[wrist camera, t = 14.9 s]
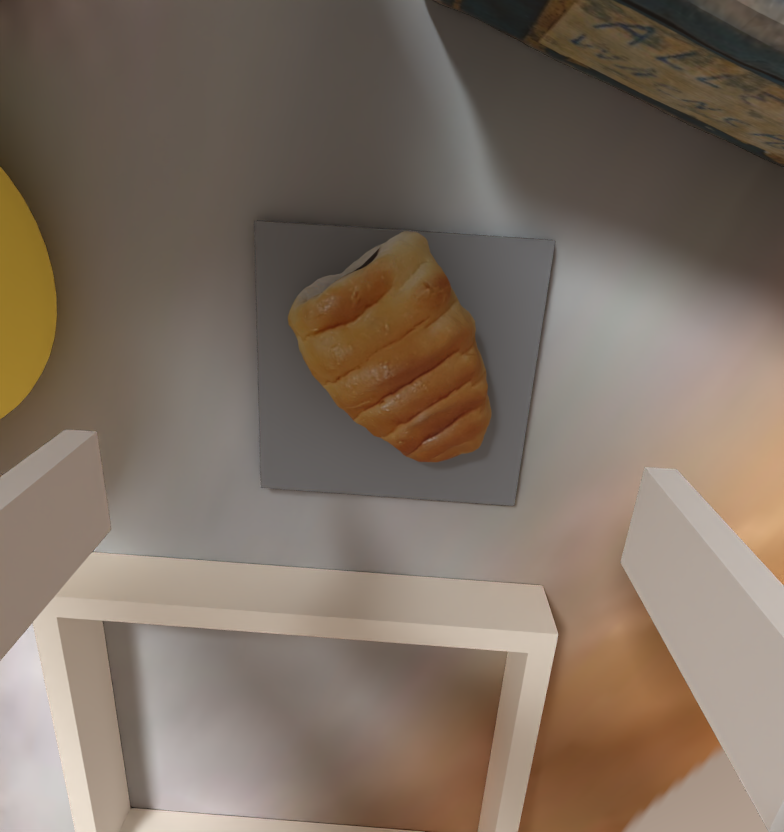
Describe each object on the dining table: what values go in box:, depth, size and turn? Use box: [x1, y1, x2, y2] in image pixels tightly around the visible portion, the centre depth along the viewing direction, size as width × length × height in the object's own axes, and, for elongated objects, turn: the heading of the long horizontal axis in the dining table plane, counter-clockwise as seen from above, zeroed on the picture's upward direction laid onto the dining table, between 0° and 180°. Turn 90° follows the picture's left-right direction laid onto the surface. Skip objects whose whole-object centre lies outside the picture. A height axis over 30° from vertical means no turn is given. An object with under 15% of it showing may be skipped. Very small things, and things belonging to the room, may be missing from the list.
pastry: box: [288, 231, 492, 462], centre depth 23 cm, size 9×7×4 cm
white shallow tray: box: [33, 552, 558, 832], centre depth 32 cm, size 24×20×4 cm
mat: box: [254, 221, 555, 506], centre depth 26 cm, size 12×12×1 cm
